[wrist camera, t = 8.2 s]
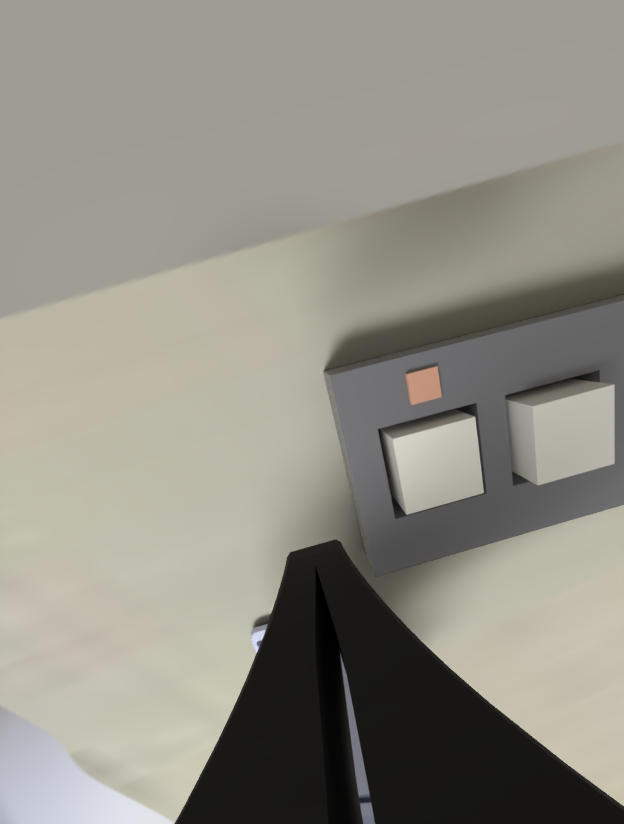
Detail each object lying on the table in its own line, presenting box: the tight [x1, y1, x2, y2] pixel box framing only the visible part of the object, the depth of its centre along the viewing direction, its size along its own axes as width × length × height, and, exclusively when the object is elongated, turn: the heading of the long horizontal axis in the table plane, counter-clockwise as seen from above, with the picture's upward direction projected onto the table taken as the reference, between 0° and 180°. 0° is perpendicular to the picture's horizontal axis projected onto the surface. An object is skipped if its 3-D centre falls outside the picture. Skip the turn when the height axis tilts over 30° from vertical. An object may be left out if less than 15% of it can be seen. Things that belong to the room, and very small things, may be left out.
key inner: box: [378, 409, 484, 515], centre depth 18 cm, size 4×4×2 cm
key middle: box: [505, 379, 615, 485], centre depth 17 cm, size 4×4×2 cm
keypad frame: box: [323, 295, 624, 577], centre depth 18 cm, size 12×23×2 cm, turn 103°
